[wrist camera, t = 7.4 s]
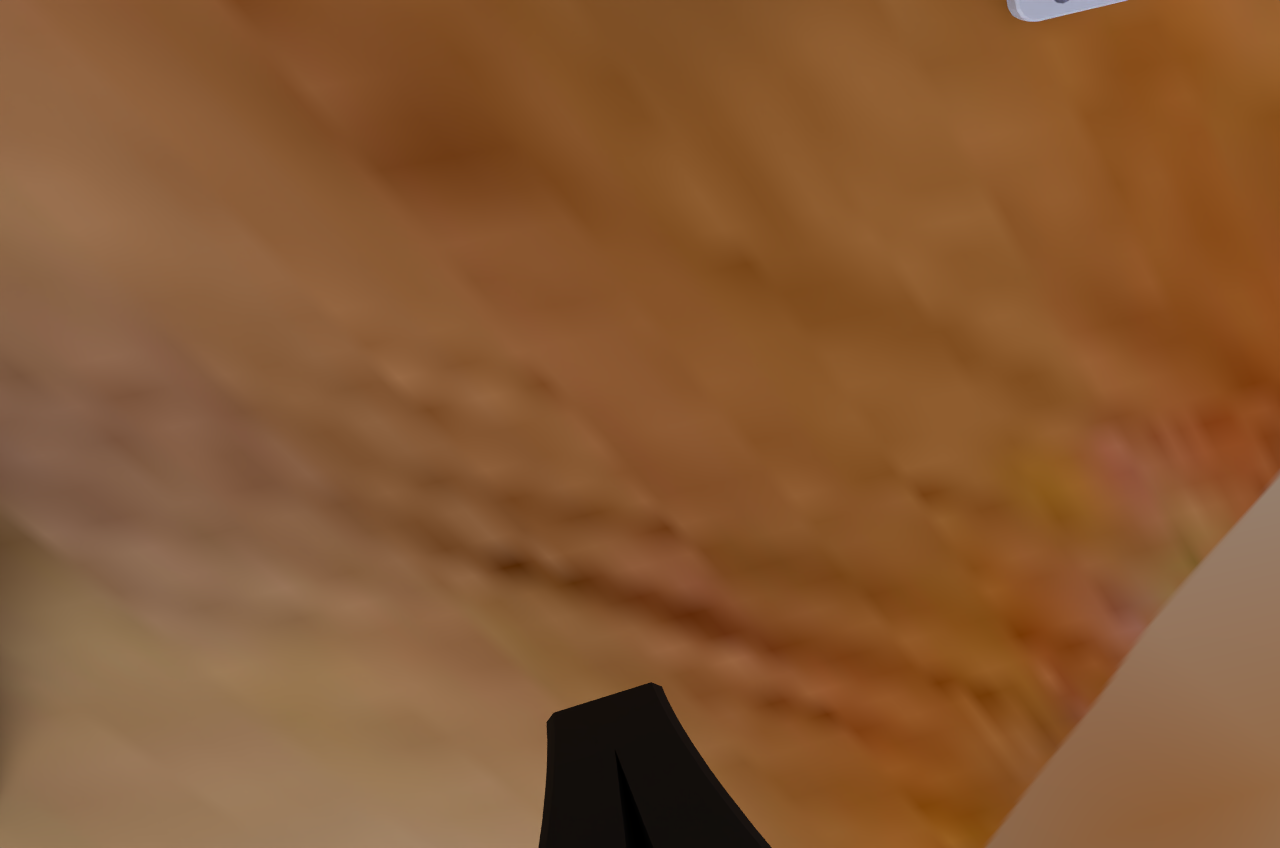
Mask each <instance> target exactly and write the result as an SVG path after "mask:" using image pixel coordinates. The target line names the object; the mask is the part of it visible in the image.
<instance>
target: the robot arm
mask: <svg viewBox="0 0 1280 848" xmlns="http://www.w3.org/2000/svg"><path fill="white" fill-rule="evenodd" d="M1122 1H1126V0H1007V5H1008V9H1009V10H1010V12H1011V14H1012V15H1013V16H1014V17H1016V18H1018V19H1020V20H1024V21H1042V20H1046V19H1050V18H1054V17H1058V16H1063V15H1067V14H1071V13H1075V12H1080V11H1084V10H1088V9H1092V8H1097V7H1101V6H1105V5H1109V4H1114V3H1118V2H1122ZM539 848H771V846H770V845H769V844H768V843H767V842H766V840H765V839H764V838H763V837H762V836H761V834H760V833H759V832H758V831H757V830H756V828H755V827H754V826H753V825H752V823H751V822H750V821H749V820H748V818H747V817H746V816H745V814H744V813H743V812H742V811H741V809H740V808H739V807H738V805H737V804H736V803H735V802H734V800H733V799H732V798H731V797H730V795H729V794H728V793H727V791H726V790H725V789H724V788H723V786H722V785H721V783H720V782H719V781H718V779H717V778H716V777H715V775H714V774H713V773H712V771H711V770H710V768H709V767H708V765H707V764H706V762H705V761H704V759H703V758H702V757H701V755H700V754H699V752H698V751H697V749H696V748H695V746H694V745H693V743H692V742H691V740H690V738H689V737H688V735H687V734H686V732H685V730H684V729H683V727H682V725H681V724H680V722H679V720H678V719H677V717H676V715H675V713H674V711H673V709H672V707H671V705H670V704H669V702H668V700H667V697H666V695H665V693H664V691H663V688H662V686H659V685H657V684H654V683H652V682H651V683H648V684H644V685H641V686H638V687H635V688H632V689H628V690H625V691H622V692H619V693H616V694H612V695H609V696H606V697H603V698H600V699H596V700H593V701H590V702H587V703H584V704H580V705H577V706H574V707H571V708H568V709H564V710H561V711H558V712H555V713H553V714H552V716H551V717H550V718H549V720H548V721H547V774H546V788H545V799H544V809H543V819H542V827H541V834H540V841H539Z"/></svg>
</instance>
